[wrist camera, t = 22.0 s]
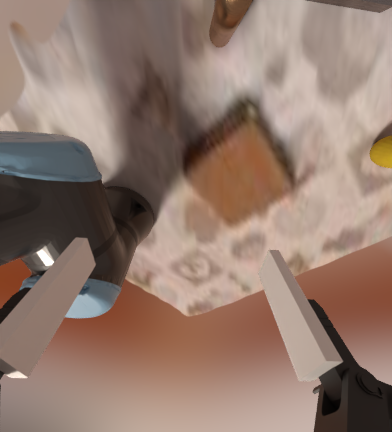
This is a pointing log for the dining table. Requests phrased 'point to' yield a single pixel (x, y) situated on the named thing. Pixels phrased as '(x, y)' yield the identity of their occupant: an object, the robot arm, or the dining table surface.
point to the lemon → (382, 152)
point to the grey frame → (360, 4)
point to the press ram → (226, 20)
